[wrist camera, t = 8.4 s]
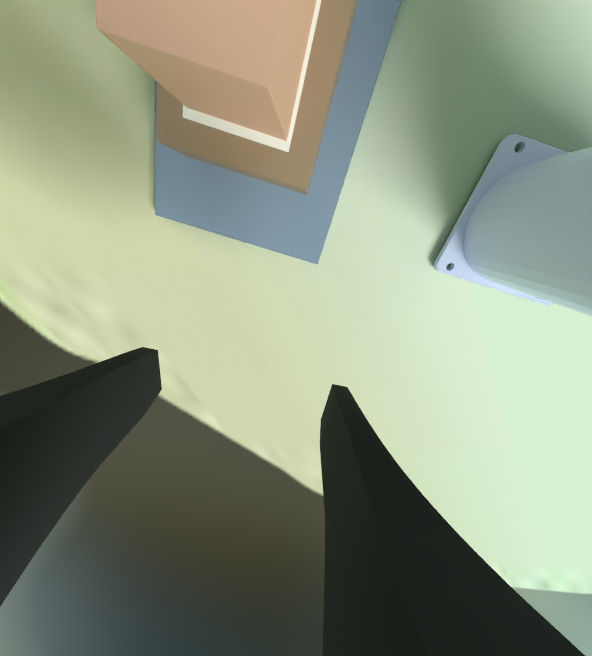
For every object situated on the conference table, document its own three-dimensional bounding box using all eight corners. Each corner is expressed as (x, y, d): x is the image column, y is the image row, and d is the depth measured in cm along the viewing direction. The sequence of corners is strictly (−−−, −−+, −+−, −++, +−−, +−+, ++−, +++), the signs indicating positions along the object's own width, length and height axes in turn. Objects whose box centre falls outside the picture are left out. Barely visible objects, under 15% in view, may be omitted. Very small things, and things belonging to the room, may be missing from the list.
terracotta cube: (318, -12, 9) (323, -245, 4) (286, 141, 11) (267, 87, 7) (195, -58, 9) (69, -354, 4) (187, 107, 11) (97, 28, 6)
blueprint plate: (428, -87, 10) (482, -234, 7) (317, 262, 17) (318, 273, 14) (165, -193, 10) (86, -409, 6) (160, 214, 16) (121, 213, 13)
